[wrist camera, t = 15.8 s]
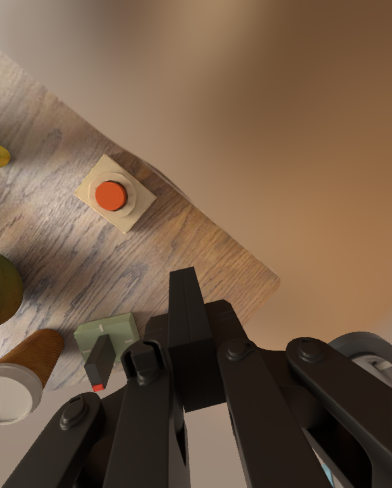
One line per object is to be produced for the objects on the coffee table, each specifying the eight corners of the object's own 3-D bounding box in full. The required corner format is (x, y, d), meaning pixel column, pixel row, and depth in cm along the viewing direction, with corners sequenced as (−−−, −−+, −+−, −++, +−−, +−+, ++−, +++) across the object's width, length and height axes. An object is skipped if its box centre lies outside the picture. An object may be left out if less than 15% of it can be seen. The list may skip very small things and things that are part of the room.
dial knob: (98, 335, 39) (82, 367, 32) (108, 333, 39) (94, 364, 32) (107, 358, 40) (93, 393, 33) (116, 355, 41) (105, 390, 34)
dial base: (130, 309, 42) (127, 318, 39) (143, 348, 44) (141, 360, 41) (79, 321, 41) (71, 331, 38) (94, 360, 44) (88, 373, 41)
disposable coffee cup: (12, 353, 41) (-50, 416, 30) (31, 313, 40) (-26, 363, 28) (61, 370, 43) (21, 435, 32) (81, 332, 42) (47, 387, 30)
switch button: (132, 194, 33) (129, 195, 31) (115, 214, 34) (112, 216, 32) (110, 176, 32) (106, 175, 30) (94, 197, 33) (89, 197, 31)
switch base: (157, 197, 37) (155, 198, 34) (128, 231, 38) (123, 236, 34) (108, 155, 35) (100, 151, 31) (78, 193, 36) (67, 193, 32)
